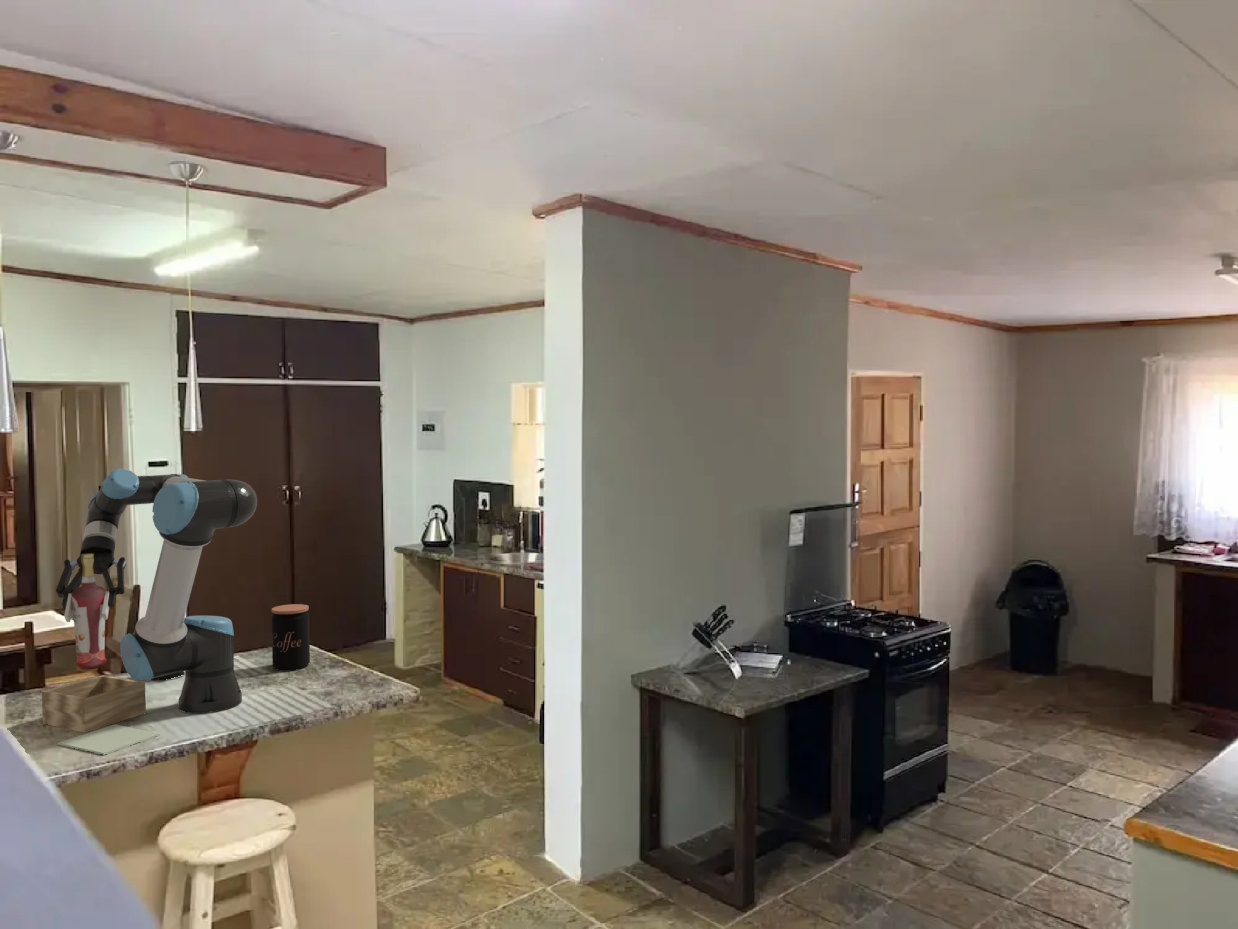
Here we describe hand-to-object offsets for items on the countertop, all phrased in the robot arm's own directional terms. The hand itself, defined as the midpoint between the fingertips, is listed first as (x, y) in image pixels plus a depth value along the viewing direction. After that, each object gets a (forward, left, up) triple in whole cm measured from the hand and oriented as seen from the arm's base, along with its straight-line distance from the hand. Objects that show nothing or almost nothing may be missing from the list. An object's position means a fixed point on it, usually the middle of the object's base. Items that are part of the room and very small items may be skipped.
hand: (86, 617), depth 220 cm
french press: (+21, -38, -27) cm, 51 cm away
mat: (-14, +5, -26) cm, 30 cm away
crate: (+4, -4, -26) cm, 27 cm away
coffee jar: (-4, -61, -27) cm, 67 cm away
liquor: (+2, -3, -13) cm, 14 cm away
